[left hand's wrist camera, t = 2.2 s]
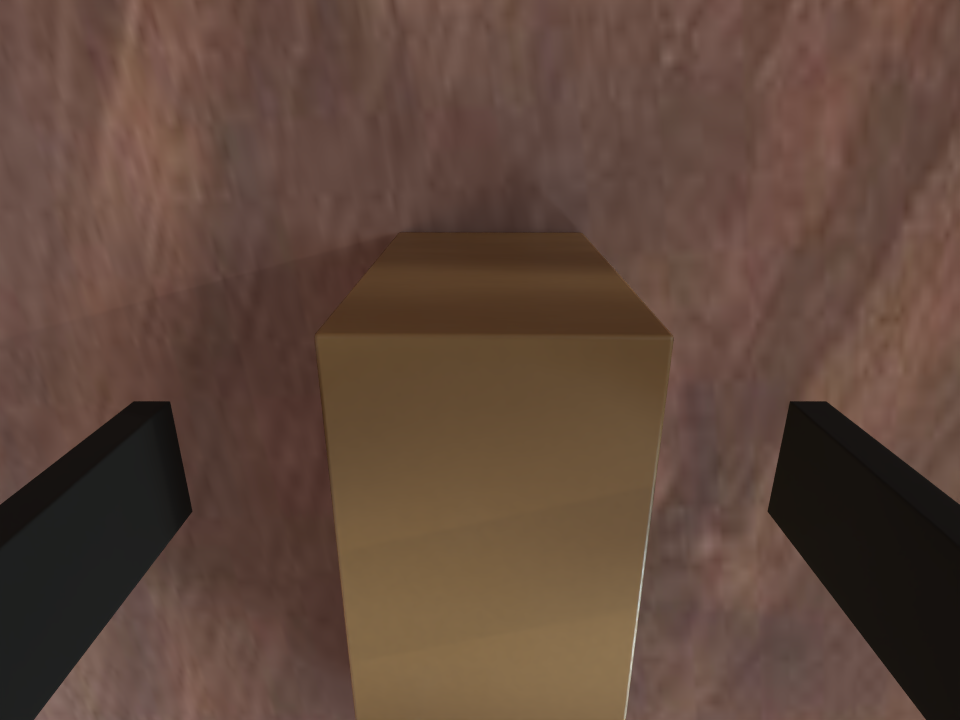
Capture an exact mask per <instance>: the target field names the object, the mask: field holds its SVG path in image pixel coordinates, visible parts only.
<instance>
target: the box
mask: <svg viewBox="0 0 960 720" xmlns="http://www.w3.org/2000/svg"><path fill="white" fill-rule="evenodd" d="M314 339H315V349H316V358H317V367H318V376H319V386H320V395H321V404H322V414H323V423H324V432H325V441H326V451H327V460H328V469H329V478H330V488H331V497H332V506H333V515H334V525H335V534H336V543H337V552H338V562H339V571H340V580H341V589H342V599H343V608H344V617H345V626H346V636H347V645H348V654H349V663H350V673H351V682H352V691H353V700H354V710H355V719H356V720H626V712H627V704H628V696H629V688H630V680H631V672H632V664H633V656H634V649H635V641H636V633H637V625H638V617H639V609H640V601H641V593H642V585H643V577H644V569H645V561H646V554H647V546H648V538H649V530H650V522H651V514H652V506H653V498H654V490H655V482H656V474H657V466H658V458H659V451H660V443H661V435H662V427H663V419H664V411H665V403H666V395H667V387H668V379H669V371H670V363H671V355H672V348H673V340H674V338H673V335H672V334H671V333H670V332H669V331H668V330H667V328H666V327H665V326H664V325H663V324H662V323H661V322H660V320H659V319H658V318H657V317H656V316H655V315H654V314H653V313H652V311H651V310H650V309H649V308H648V307H647V306H646V305H645V304H644V302H643V301H642V300H641V299H640V298H639V297H638V296H637V295H636V293H635V292H634V291H633V290H632V289H631V288H630V287H629V285H628V284H627V283H626V282H625V281H624V280H623V279H622V278H621V276H620V275H619V274H618V273H617V272H616V271H615V270H614V269H613V267H612V266H611V265H610V264H609V263H608V262H607V261H606V259H605V258H604V257H603V256H602V255H601V254H600V253H599V252H598V250H597V249H596V248H595V247H594V246H593V245H592V244H591V243H590V241H589V240H588V239H587V238H586V237H585V236H584V235H583V234H582V233H461V232H400V233H398V235H397V236H396V237H395V238H394V239H393V241H392V242H391V243H390V244H389V246H388V247H387V248H386V249H385V250H384V252H383V253H382V254H381V255H380V256H379V258H378V259H377V260H376V261H375V262H374V264H373V265H372V266H371V267H370V269H369V270H368V271H367V272H366V273H365V275H364V276H363V277H362V278H361V279H360V281H359V282H358V283H357V284H356V285H355V287H354V288H353V289H352V290H351V291H350V293H349V294H348V295H347V296H346V298H345V299H344V300H343V301H342V302H341V304H340V305H339V306H338V307H337V308H336V310H335V311H334V312H333V313H332V314H331V316H330V317H329V318H328V319H327V320H326V322H325V323H324V324H323V325H322V327H321V328H320V329H319V330H318V331H317V333H316V334H315V337H314Z"/></svg>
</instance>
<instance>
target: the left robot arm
mask: <svg viewBox="0 0 960 720" xmlns="http://www.w3.org/2000/svg"><path fill="white" fill-rule="evenodd" d="M191 513H192V507H191V502H190V497H189V492H188V488H187V483H186V478H185V473H184V468H183V463H182V458H181V453H180V448H179V443H178V438H177V434H176V429H175V424H174V419H173V414H172V409H171V404H170V401H134V402H132V403H131V404H130V405H129V406H127V407H126V408H125V409H123V410H122V411H121V412H120V413H118V414H117V415H116V416H114V417H113V418H112V419H111V420H109V421H108V422H107V423H105V424H104V425H103V426H101V427H100V428H99V429H98V430H96V431H95V432H94V433H92V434H91V435H90V436H89V437H87V438H86V439H85V440H83V441H82V442H81V443H79V444H78V445H77V446H76V447H74V448H73V449H72V450H70V451H69V452H68V453H67V454H65V455H64V456H63V457H61V458H60V459H59V460H58V461H56V462H55V463H54V464H52V465H51V466H50V467H48V468H47V469H46V470H45V471H43V472H42V473H41V474H39V475H38V476H37V477H36V478H34V479H33V480H32V481H30V482H29V483H28V484H27V485H25V486H24V487H23V488H21V489H20V490H19V491H17V492H16V493H15V494H14V495H12V496H11V497H10V498H8V499H7V500H6V501H5V502H3V503H2V504H1V505H0V720H34V719H35V717H36V716H37V715H38V714H39V712H40V711H41V710H42V708H43V707H44V706H45V704H46V703H47V702H48V700H49V699H50V698H51V696H52V695H53V694H54V693H55V691H56V690H57V689H58V687H59V686H60V685H61V683H62V682H63V681H64V679H65V678H66V677H67V675H68V674H69V673H70V672H71V670H72V669H73V668H74V666H75V665H76V664H77V662H78V661H79V660H80V658H81V657H82V656H83V654H84V653H85V652H86V651H87V649H88V648H89V647H90V645H91V644H92V643H93V641H94V640H95V639H96V637H97V636H98V635H99V633H100V632H101V631H102V629H103V628H104V627H105V626H106V624H107V623H108V622H109V620H110V619H111V618H112V616H113V615H114V614H115V612H116V611H117V610H118V608H119V607H120V606H121V605H122V603H123V602H124V601H125V599H126V598H127V597H128V595H129V594H130V593H131V591H132V590H133V589H134V587H135V586H136V585H137V584H138V582H139V581H140V580H141V578H142V577H143V576H144V574H145V573H146V572H147V570H148V569H149V568H150V566H151V565H152V564H153V562H154V561H155V560H156V559H157V557H158V556H159V555H160V553H161V552H162V551H163V549H164V548H165V547H166V545H167V544H168V543H169V541H170V540H171V539H172V538H173V536H174V535H175V534H176V532H177V531H178V530H179V528H180V527H181V526H182V524H183V523H184V522H185V520H186V519H187V518H188V517H189V515H190V514H191ZM768 513H769V514H770V515H771V517H772V518H773V519H774V520H775V522H776V523H777V524H778V526H779V527H780V528H781V530H782V531H783V532H784V534H785V535H786V536H787V538H788V539H789V540H790V541H791V543H792V544H793V545H794V547H795V548H796V549H797V551H798V552H799V553H800V555H801V556H802V557H803V559H804V560H805V561H806V562H807V564H808V565H809V566H810V568H811V569H812V570H813V572H814V573H815V574H816V576H817V577H818V578H819V580H820V581H821V582H822V584H823V585H824V586H825V587H826V589H827V590H828V591H829V593H830V594H831V595H832V597H833V598H834V599H835V601H836V602H837V603H838V605H839V606H840V607H841V608H842V610H843V611H844V612H845V614H846V615H847V616H848V618H849V619H850V620H851V622H852V623H853V624H854V626H855V627H856V628H857V629H858V631H859V632H860V633H861V635H862V636H863V637H864V639H865V640H866V641H867V643H868V644H869V645H870V647H871V648H872V649H873V651H874V652H875V653H876V654H877V656H878V657H879V658H880V660H881V661H882V662H883V664H884V665H885V666H886V668H887V669H888V670H889V672H890V673H891V674H892V675H893V677H894V678H895V679H896V681H897V682H898V683H899V685H900V686H901V687H902V689H903V690H904V691H905V693H906V694H907V695H908V696H909V698H910V699H911V700H912V702H913V703H914V704H915V706H916V707H917V708H918V710H919V711H920V712H921V714H922V715H923V716H924V718H925V719H926V720H960V505H959V504H958V503H957V502H955V501H954V500H953V499H952V498H950V497H949V496H948V495H946V494H945V493H944V492H943V491H941V490H940V489H939V488H937V487H936V486H935V485H933V484H932V483H931V482H930V481H928V480H927V479H926V478H924V477H923V476H922V475H921V474H919V473H918V472H917V471H915V470H914V469H913V468H912V467H910V466H909V465H908V464H906V463H905V462H904V461H902V460H901V459H900V458H899V457H897V456H896V455H895V454H893V453H892V452H891V451H890V450H888V449H887V448H886V447H884V446H883V445H882V444H881V443H879V442H878V441H877V440H875V439H874V438H873V437H871V436H870V435H869V434H868V433H866V432H865V431H864V430H862V429H861V428H860V427H859V426H857V425H856V424H855V423H853V422H852V421H851V420H849V419H848V418H847V417H846V416H844V415H843V414H842V413H840V412H839V411H838V410H837V409H835V408H834V407H833V406H831V405H830V404H829V403H828V402H826V401H790V404H789V409H788V414H787V419H786V424H785V429H784V434H783V438H782V443H781V448H780V453H779V458H778V463H777V468H776V473H775V478H774V483H773V487H772V492H771V497H770V502H769V507H768Z"/></svg>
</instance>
